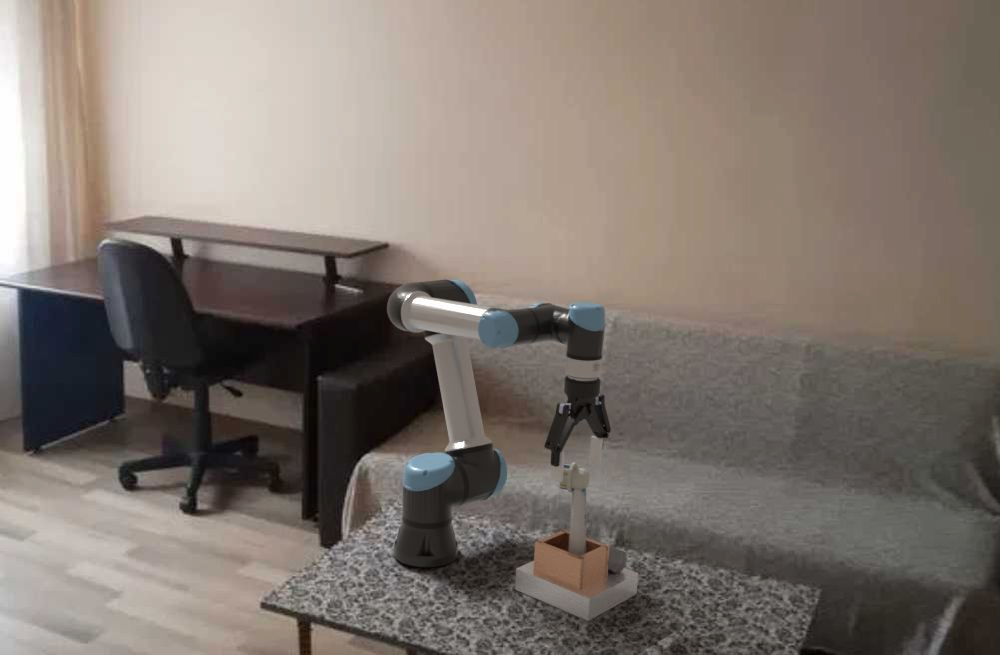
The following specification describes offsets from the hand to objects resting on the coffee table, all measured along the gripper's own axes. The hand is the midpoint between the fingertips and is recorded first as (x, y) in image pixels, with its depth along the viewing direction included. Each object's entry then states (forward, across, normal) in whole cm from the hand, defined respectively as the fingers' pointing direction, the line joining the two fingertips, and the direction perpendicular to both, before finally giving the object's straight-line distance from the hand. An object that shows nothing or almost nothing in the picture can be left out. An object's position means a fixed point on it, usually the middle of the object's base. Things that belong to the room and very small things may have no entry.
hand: (576, 472), depth 219 cm
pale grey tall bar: (+23, 0, 0) cm, 23 cm away
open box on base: (+28, +2, 0) cm, 28 cm away
